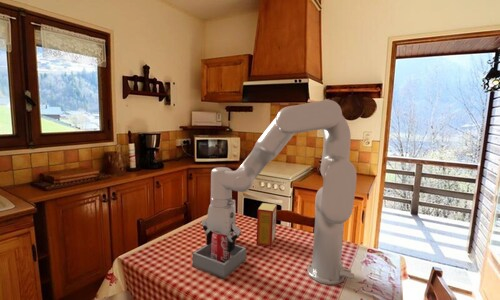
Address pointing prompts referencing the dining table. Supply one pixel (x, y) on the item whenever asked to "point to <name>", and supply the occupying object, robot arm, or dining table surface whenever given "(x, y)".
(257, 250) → the dining table surface
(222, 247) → the soda can
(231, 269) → the bin
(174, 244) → the dining table surface
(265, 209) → the baking soda box
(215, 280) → the dining table surface
